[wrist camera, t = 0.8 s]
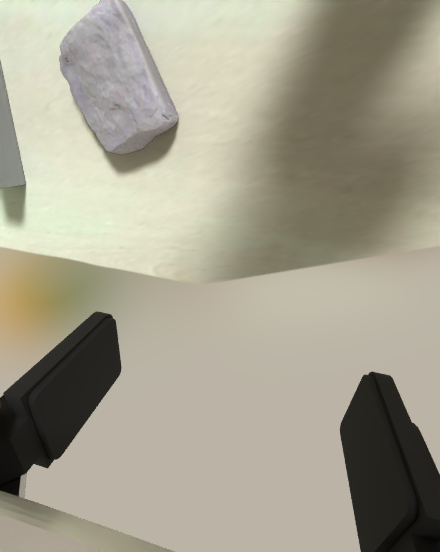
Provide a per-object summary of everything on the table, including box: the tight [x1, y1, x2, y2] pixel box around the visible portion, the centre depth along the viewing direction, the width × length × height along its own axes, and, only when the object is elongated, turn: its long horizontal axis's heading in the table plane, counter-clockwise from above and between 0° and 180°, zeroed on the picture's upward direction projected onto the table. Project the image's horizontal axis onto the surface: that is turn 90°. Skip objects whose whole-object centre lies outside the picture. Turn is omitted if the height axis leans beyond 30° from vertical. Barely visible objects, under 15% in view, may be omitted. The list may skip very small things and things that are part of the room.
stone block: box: [59, 0, 178, 154], centre depth 29 cm, size 12×5×10 cm
